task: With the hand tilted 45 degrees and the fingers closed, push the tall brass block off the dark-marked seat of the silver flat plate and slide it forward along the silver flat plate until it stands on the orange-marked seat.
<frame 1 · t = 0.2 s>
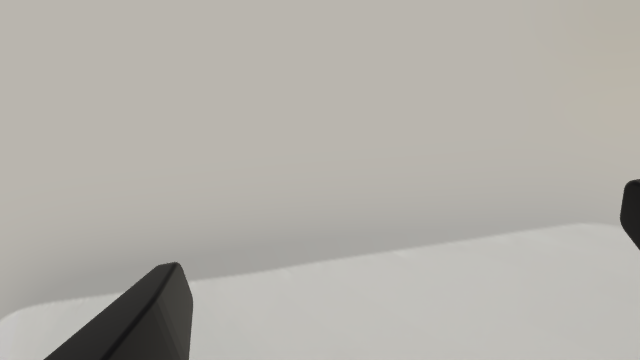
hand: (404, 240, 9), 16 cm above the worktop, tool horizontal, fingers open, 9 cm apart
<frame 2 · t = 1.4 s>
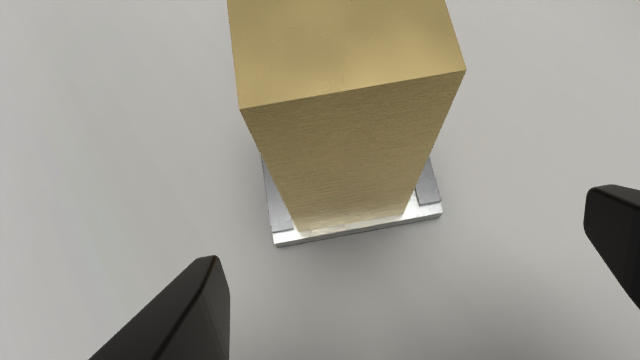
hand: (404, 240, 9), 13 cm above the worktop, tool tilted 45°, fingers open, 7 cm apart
silver flat plate: (330, 99, 24), on the worktop
brass block: (339, 164, 22), point 1 cm above the worktop, touching silver flat plate
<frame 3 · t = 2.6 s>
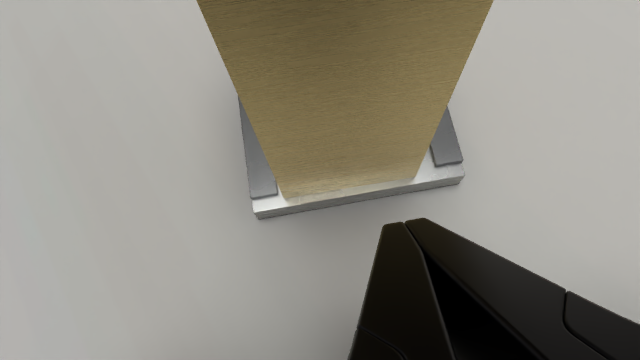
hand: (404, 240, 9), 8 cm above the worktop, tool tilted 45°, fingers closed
silver flat plate: (326, 43, 20), on the worktop
brass block: (336, 116, 18), point 1 cm above the worktop, touching silver flat plate
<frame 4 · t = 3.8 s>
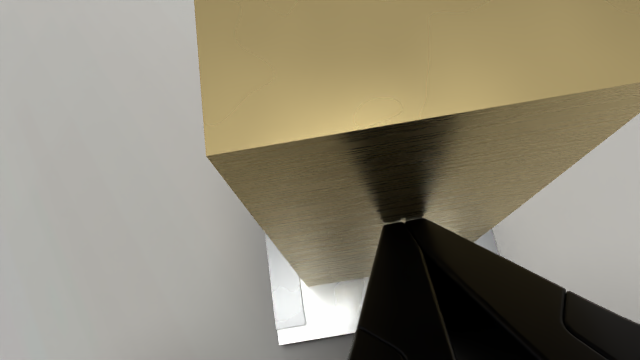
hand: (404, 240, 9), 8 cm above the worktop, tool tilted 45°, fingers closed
silver flat plate: (354, 140, 19), on the worktop
brass block: (361, 195, 17), point 1 cm above the worktop, touching silver flat plate
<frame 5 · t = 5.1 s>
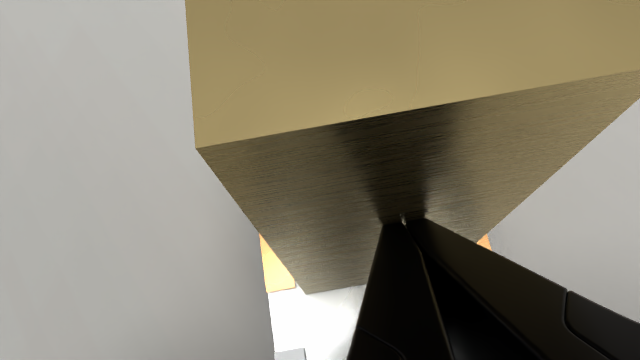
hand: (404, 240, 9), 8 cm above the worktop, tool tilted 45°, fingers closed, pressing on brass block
silver flat plate: (382, 303, 17), on the worktop
brass block: (359, 201, 17), point 1 cm above the worktop, touching gripper, silver flat plate
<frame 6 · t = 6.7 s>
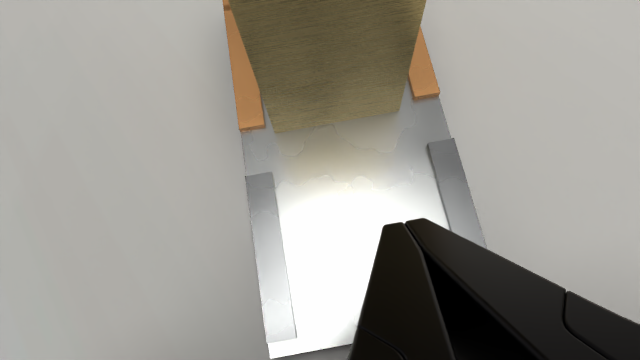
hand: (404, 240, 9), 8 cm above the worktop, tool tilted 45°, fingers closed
silver flat plate: (344, 146, 18), on the worktop
brass block: (323, 58, 19), point 1 cm above the worktop, touching silver flat plate
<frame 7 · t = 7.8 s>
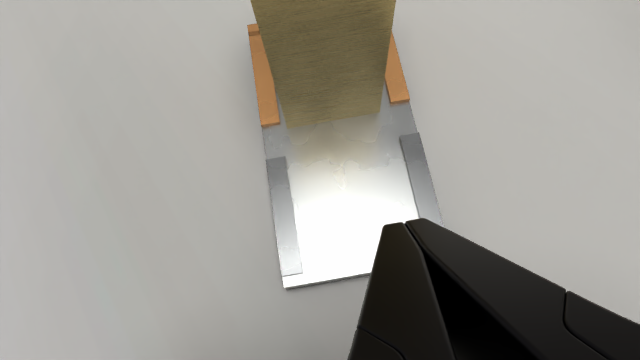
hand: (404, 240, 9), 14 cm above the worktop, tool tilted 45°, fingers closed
silver flat plate: (339, 138, 25), on the worktop
brass block: (324, 72, 25), point 1 cm above the worktop, touching silver flat plate
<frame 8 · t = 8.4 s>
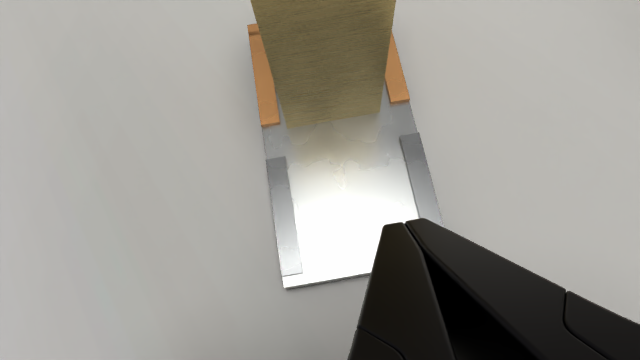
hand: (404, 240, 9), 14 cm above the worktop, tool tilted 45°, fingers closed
silver flat plate: (339, 138, 25), on the worktop
brass block: (324, 72, 25), point 1 cm above the worktop, touching silver flat plate
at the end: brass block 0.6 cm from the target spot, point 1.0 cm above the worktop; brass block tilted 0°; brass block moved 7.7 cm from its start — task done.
